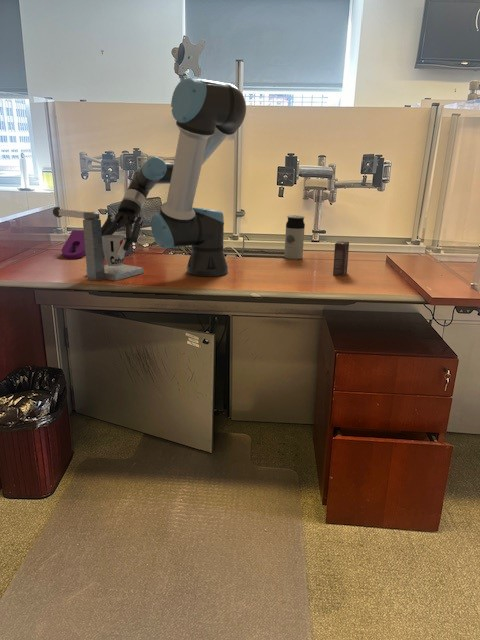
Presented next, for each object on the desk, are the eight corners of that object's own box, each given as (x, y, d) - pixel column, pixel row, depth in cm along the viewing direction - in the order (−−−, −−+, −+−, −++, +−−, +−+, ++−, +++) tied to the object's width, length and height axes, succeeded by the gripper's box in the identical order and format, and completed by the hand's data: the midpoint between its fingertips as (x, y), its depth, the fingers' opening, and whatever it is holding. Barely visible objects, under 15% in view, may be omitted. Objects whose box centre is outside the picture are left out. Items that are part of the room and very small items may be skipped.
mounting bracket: (85, 272, 193) (98, 246, 206) (80, 255, 187) (94, 230, 200) (63, 271, 193) (77, 245, 206) (58, 254, 188) (73, 229, 200)
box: (335, 271, 178) (338, 240, 174) (347, 273, 176) (350, 241, 172) (331, 275, 173) (334, 242, 169) (343, 276, 171) (346, 244, 167)
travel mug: (293, 255, 207) (295, 214, 202) (306, 258, 202) (309, 216, 196) (280, 257, 203) (282, 215, 197) (293, 260, 197) (296, 217, 191)
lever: (103, 221, 153) (102, 210, 152) (91, 222, 149) (90, 211, 147) (61, 216, 162) (60, 205, 161) (49, 217, 158) (48, 206, 157)
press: (143, 273, 168) (141, 217, 162) (107, 283, 153) (102, 222, 147) (115, 268, 175) (111, 214, 168) (77, 277, 160) (72, 218, 153)
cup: (109, 268, 159) (107, 239, 156) (99, 263, 165) (97, 235, 162) (130, 265, 164) (129, 237, 161) (120, 261, 170) (118, 234, 167)
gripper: (160, 213, 169) (139, 265, 160) (112, 210, 176) (88, 259, 167) (152, 199, 163) (129, 252, 154) (102, 196, 169) (78, 247, 160)
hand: (108, 256), depth 160 cm, fingers closed on cup, 8 cm apart
